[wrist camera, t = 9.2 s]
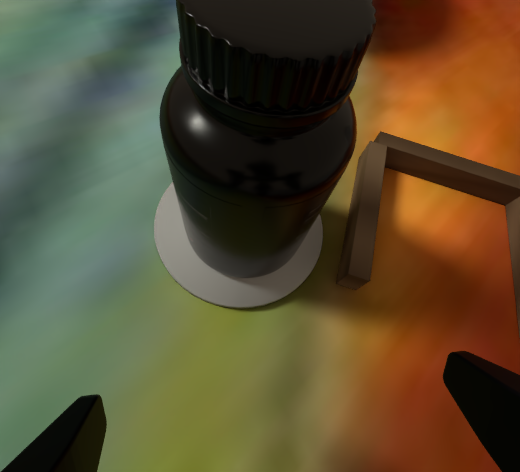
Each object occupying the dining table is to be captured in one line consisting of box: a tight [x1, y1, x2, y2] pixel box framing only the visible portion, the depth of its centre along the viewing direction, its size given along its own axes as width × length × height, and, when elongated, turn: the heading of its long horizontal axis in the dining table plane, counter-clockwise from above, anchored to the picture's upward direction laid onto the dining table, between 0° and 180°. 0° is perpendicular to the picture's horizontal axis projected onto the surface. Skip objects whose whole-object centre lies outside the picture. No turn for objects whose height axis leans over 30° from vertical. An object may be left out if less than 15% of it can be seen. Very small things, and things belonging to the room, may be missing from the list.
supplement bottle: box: [160, 0, 376, 278], centre depth 12 cm, size 7×7×12 cm
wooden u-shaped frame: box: [336, 131, 520, 336], centre depth 19 cm, size 11×12×2 cm
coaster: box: [154, 182, 323, 309], centre depth 18 cm, size 10×10×1 cm
